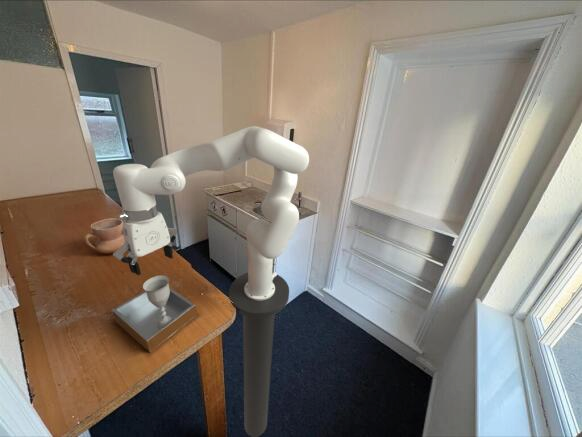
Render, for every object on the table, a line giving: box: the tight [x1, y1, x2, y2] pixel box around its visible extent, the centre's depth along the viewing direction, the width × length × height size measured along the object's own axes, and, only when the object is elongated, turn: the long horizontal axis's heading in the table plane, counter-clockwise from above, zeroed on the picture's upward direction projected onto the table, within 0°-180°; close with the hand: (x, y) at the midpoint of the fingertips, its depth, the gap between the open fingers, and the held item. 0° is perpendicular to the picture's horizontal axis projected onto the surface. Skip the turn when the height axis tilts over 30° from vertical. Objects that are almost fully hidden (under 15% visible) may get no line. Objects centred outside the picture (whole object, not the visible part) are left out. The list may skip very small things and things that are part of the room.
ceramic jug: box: [84, 217, 125, 255], centre depth 112 cm, size 18×14×14 cm
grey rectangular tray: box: [111, 287, 198, 353], centre depth 80 cm, size 17×20×5 cm
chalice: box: [142, 274, 172, 329], centre depth 75 cm, size 7×7×18 cm
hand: (153, 264), depth 69 cm, fingers open, 9 cm apart
